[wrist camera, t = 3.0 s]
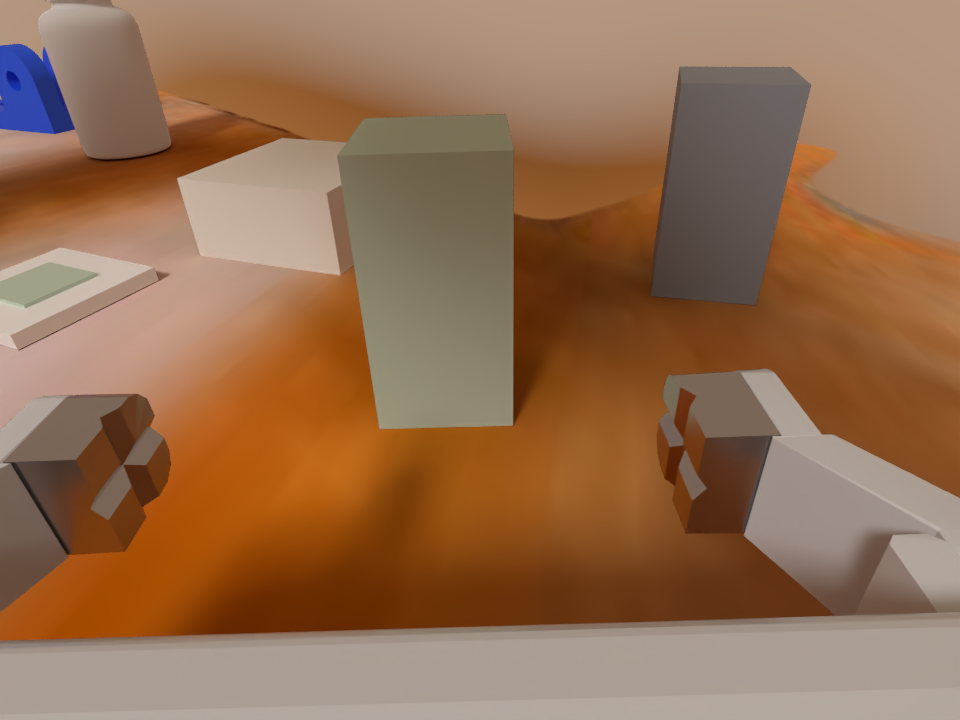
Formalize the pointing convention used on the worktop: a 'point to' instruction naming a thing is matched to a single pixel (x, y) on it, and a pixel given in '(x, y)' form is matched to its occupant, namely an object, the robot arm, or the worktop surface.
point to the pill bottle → (104, 78)
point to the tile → (62, 292)
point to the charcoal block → (725, 180)
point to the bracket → (30, 93)
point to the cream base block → (273, 207)
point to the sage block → (434, 265)
